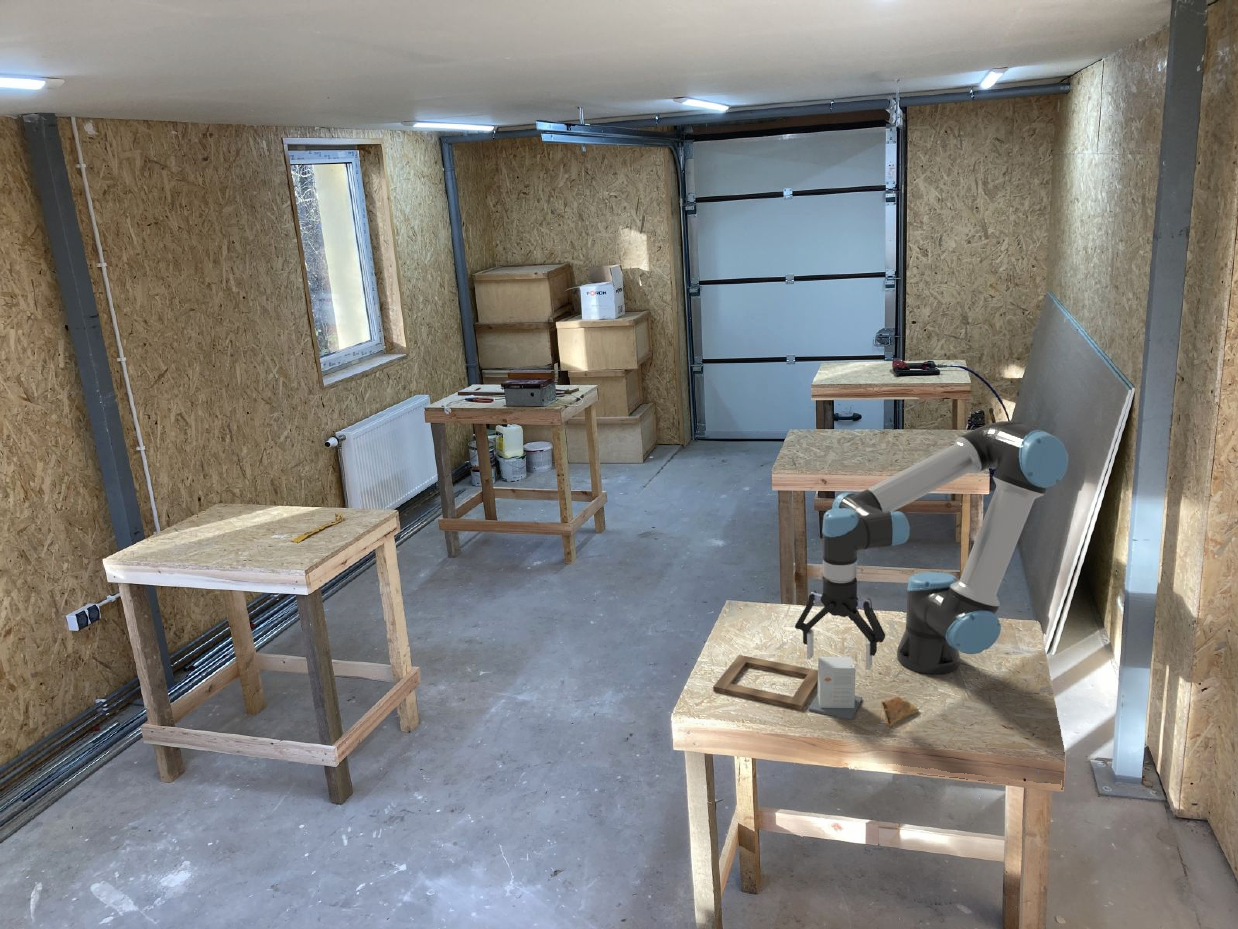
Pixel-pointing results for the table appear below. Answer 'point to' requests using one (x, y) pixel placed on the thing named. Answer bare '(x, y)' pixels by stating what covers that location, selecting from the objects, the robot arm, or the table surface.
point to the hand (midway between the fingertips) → (839, 662)
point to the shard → (897, 710)
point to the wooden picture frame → (794, 702)
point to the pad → (836, 709)
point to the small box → (836, 682)
